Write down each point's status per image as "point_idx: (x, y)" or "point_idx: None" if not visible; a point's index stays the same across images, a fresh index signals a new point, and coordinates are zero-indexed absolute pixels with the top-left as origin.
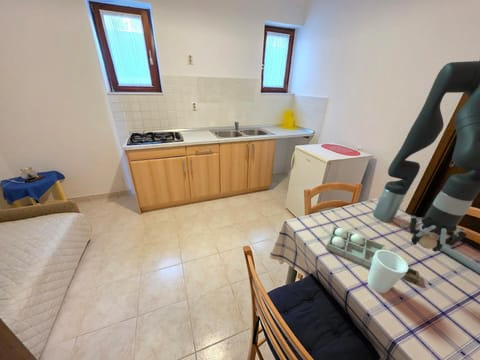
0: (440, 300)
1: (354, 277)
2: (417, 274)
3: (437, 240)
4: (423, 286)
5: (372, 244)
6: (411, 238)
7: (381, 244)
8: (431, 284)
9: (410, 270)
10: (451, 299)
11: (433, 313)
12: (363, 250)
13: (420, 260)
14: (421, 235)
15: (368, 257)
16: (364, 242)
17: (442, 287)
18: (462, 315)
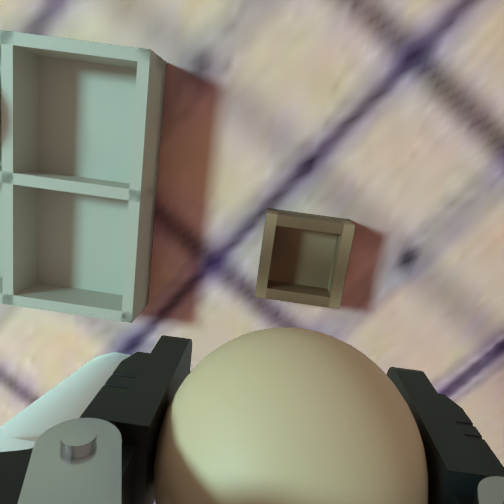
0: (421, 356)
1: (13, 398)
2: (339, 256)
3: (443, 495)
4: (363, 296)
5: (82, 58)
6: (118, 370)
7: (126, 54)
8: (417, 258)
9: (308, 229)
10: (486, 323)
11: None
12: (8, 198)
13: (428, 38)
14: (161, 499)
15: (67, 214)
16: (8, 90)
17: (476, 252)
18: (492, 402)
